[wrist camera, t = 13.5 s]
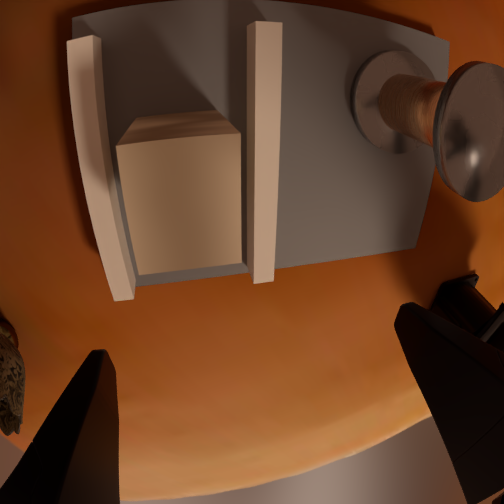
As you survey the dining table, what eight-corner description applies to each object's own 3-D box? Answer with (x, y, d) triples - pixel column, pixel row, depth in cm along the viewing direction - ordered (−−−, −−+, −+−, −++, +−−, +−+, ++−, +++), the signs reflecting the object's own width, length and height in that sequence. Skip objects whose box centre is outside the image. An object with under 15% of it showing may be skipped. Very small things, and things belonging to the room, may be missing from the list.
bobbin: (435, 61, 15) (531, 84, 9) (424, 152, 19) (509, 200, 12) (352, 41, 14) (454, 45, 8) (345, 148, 17) (432, 204, 11)
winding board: (437, 41, 15) (468, 44, 13) (406, 240, 24) (428, 260, 22) (78, 20, 11) (60, 12, 9) (116, 277, 20) (111, 308, 17)
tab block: (216, 110, 15) (240, 133, 10) (219, 201, 17) (241, 262, 13) (136, 117, 14) (115, 146, 9) (146, 209, 17) (139, 275, 12)
